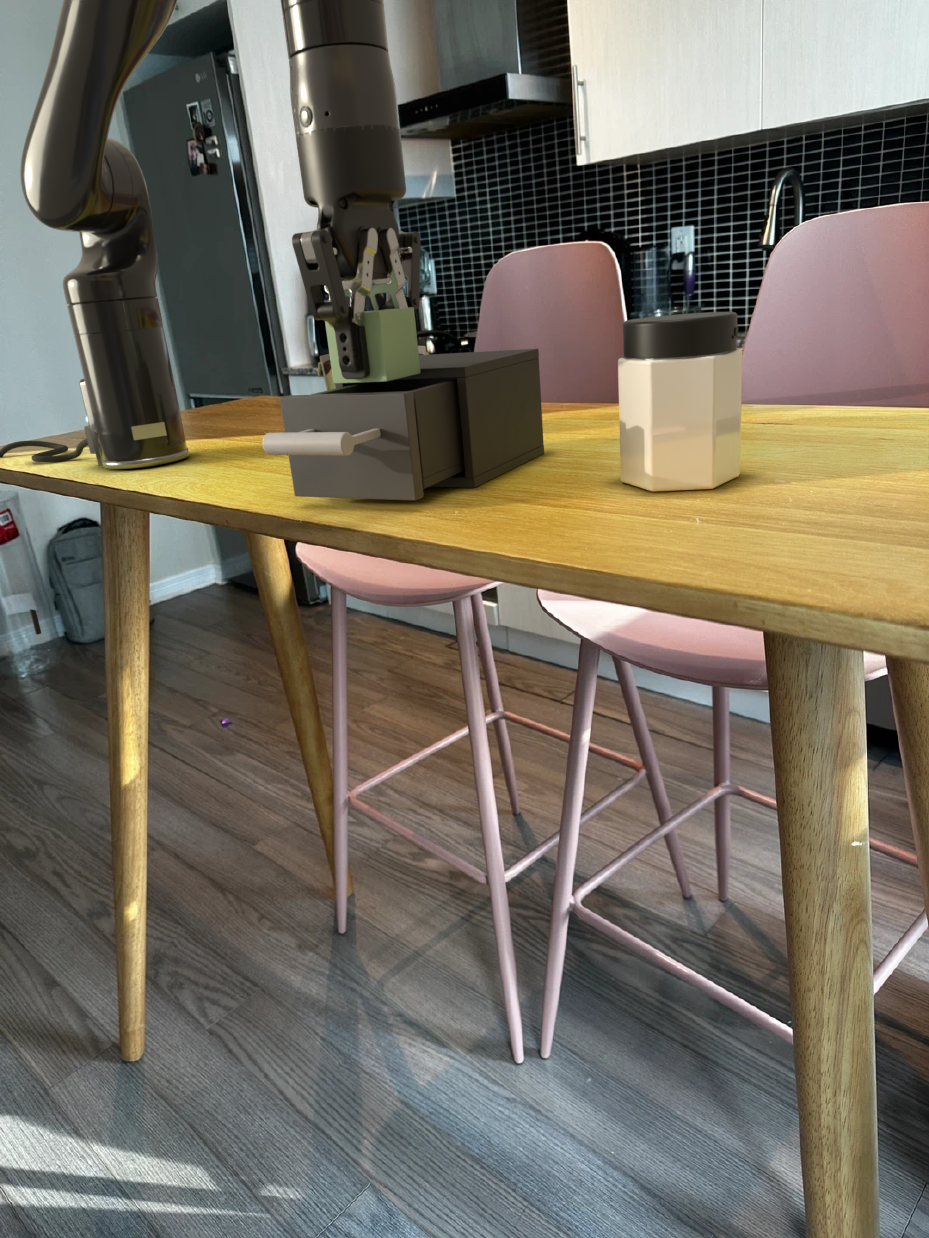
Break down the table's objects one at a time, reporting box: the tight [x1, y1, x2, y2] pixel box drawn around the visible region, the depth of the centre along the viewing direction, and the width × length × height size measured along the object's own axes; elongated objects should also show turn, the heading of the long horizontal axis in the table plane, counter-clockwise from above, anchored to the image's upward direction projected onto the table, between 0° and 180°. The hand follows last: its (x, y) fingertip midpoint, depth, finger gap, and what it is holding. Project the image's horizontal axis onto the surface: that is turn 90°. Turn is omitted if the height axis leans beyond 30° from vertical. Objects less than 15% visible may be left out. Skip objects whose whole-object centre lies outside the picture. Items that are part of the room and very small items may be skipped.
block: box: [324, 307, 421, 384], centre depth 69 cm, size 5×5×5 cm
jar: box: [617, 311, 743, 492], centre depth 66 cm, size 9×8×12 cm
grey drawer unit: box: [335, 348, 545, 489], centre depth 79 cm, size 15×13×10 cm
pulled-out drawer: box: [262, 378, 465, 501], centre depth 70 cm, size 19×11×8 cm, turn 152°
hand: (376, 373), depth 69 cm, fingers closed on block, 5 cm apart
